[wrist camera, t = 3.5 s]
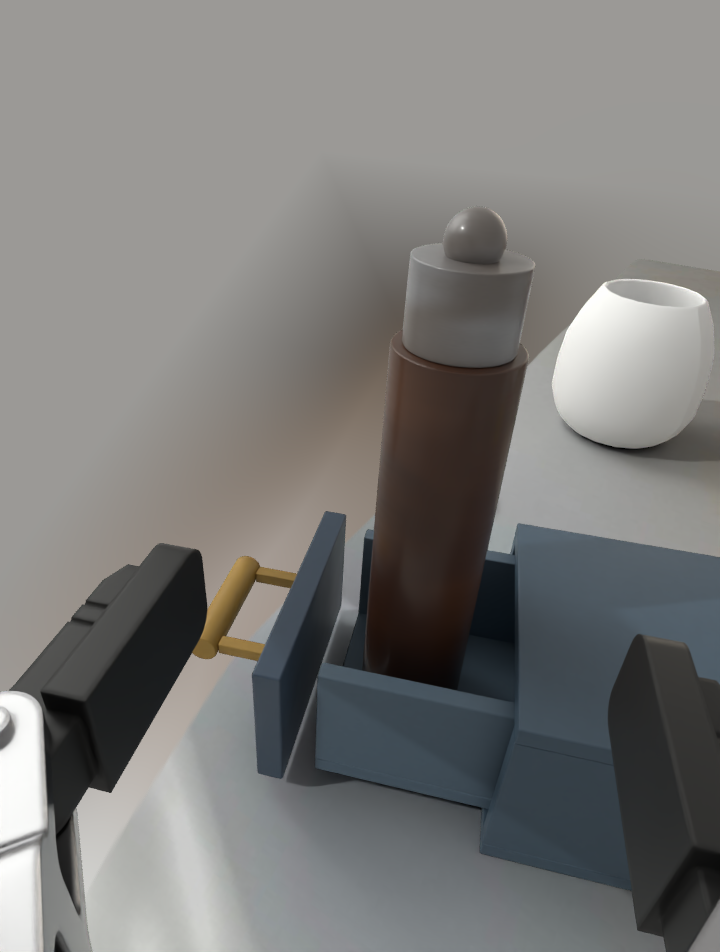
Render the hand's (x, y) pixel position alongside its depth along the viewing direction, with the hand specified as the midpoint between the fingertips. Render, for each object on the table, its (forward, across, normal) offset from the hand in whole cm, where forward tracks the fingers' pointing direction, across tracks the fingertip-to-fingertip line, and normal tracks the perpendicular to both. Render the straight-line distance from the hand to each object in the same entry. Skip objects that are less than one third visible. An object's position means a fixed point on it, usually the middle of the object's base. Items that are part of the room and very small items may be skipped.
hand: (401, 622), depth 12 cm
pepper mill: (+13, 0, +17) cm, 21 cm away
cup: (+50, -15, +19) cm, 55 cm away
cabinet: (+13, -11, +19) cm, 25 cm away
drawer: (+13, +2, +18) cm, 22 cm away
